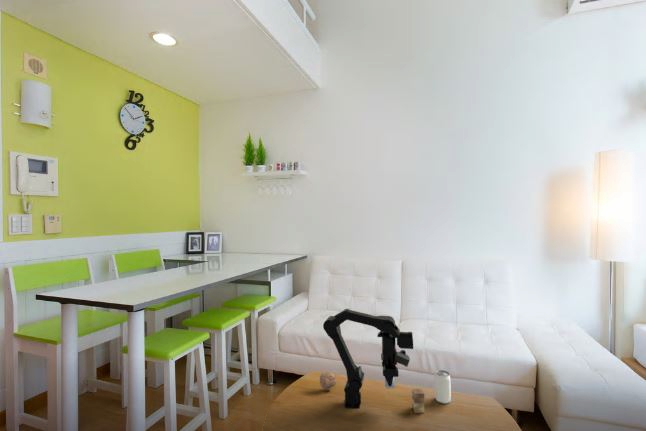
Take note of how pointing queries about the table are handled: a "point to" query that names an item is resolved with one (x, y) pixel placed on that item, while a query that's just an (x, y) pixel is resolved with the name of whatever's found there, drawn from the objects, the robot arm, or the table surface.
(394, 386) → the pale blue rounded blob
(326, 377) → the brown wrinkled rounded piece
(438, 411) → the table surface
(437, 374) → the can
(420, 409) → the tower base
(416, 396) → the tower top
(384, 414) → the table surface
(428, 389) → the table surface
